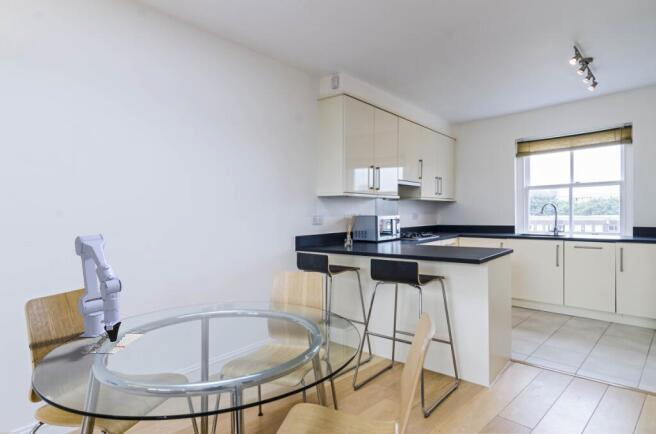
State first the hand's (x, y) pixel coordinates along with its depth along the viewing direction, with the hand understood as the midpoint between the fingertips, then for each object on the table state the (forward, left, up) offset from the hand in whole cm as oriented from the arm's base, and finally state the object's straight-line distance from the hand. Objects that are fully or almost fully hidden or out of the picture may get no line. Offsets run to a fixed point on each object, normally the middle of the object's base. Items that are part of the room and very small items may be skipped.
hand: (113, 341), depth 143 cm
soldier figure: (+4, -4, -1) cm, 6 cm away
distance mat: (-2, 0, -1) cm, 3 cm away
